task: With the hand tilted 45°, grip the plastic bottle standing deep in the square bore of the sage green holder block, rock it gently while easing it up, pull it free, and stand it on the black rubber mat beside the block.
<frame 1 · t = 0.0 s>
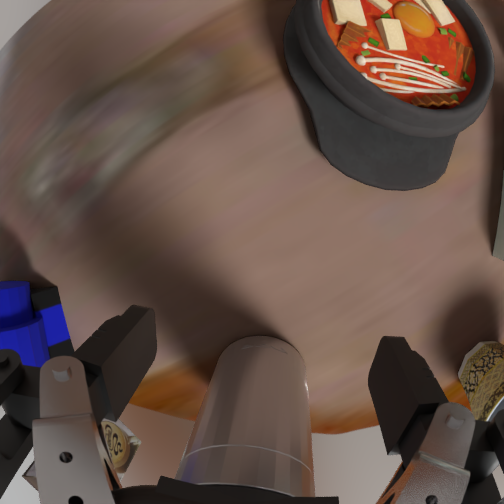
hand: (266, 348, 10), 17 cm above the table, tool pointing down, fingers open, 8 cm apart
ceramic cup: (480, 368, 28), on the table
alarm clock: (34, 311, 32), on the table
coffee box: (109, 423, 35), on the table
casserole: (381, 61, 22), on the table
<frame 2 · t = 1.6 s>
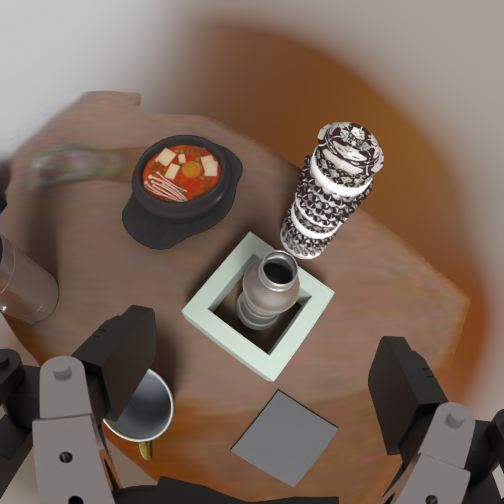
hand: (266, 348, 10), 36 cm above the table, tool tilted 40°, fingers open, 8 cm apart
ceramic cup: (153, 407, 40), on the table
holder block: (256, 311, 47), on the table
rubber mat: (286, 441, 39), on the table
black and white cylinder: (303, 237, 53), on the table
casserole: (184, 195, 55), on the table
plastic bottle: (256, 312, 47), resting in holder block
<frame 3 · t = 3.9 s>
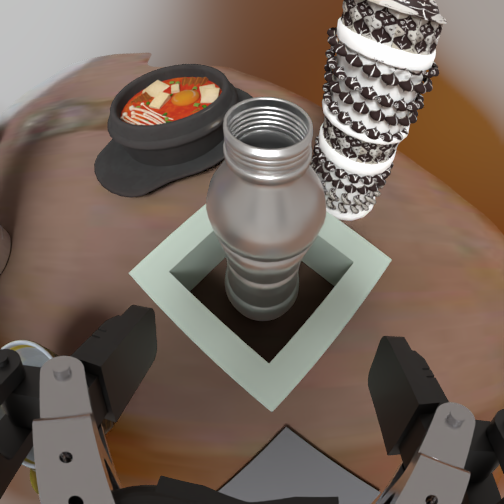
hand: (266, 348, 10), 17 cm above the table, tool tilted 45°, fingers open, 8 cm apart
ceramic cup: (88, 423, 23), on the table
holder block: (261, 293, 29), on the table
black and white cylinder: (341, 192, 35), on the table
casserole: (179, 140, 40), on the table
plastic bottle: (261, 294, 29), resting in holder block
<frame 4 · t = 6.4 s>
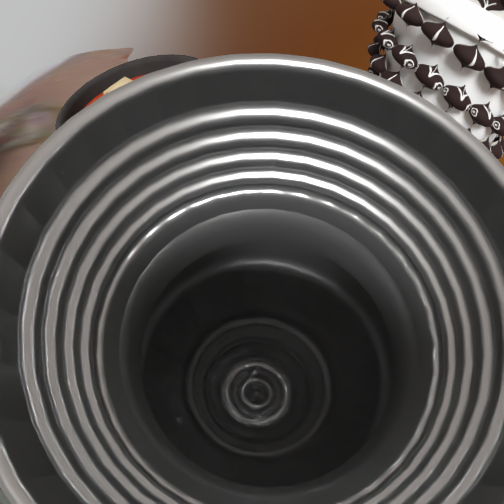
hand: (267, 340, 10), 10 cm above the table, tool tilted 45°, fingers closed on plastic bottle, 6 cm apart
black and white cylinder: (370, 236, 25), on the table
casserole: (151, 156, 30), on the table
plastic bottle: (256, 394, 19), resting in holder block, touching gripper
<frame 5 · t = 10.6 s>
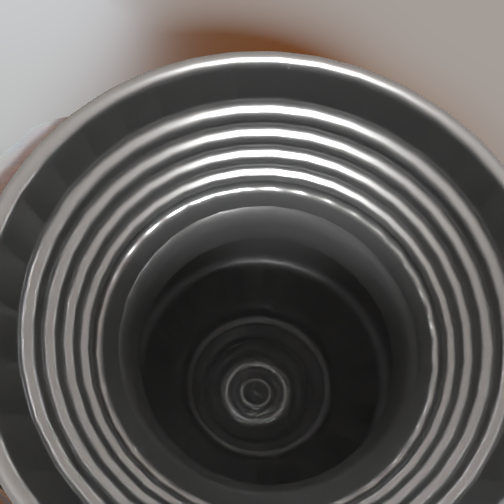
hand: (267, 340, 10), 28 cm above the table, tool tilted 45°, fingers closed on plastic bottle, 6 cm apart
plastic bottle: (256, 393, 19), point 18 cm above the table, touching gripper
when the fingers open (12 cm above the table, at t = 15.1 s): plastic bottle drops 1 cm, resting on rubber mat.
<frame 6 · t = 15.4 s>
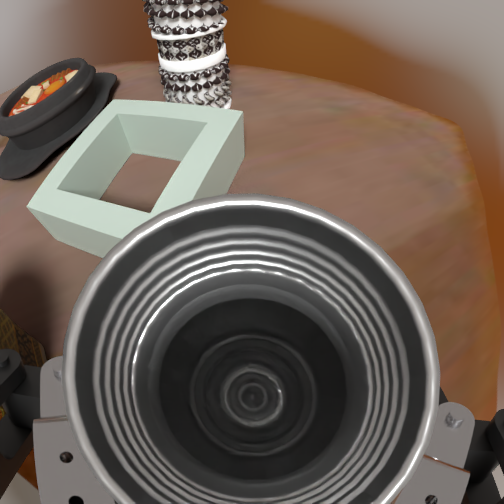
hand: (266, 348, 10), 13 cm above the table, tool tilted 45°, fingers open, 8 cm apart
ceramic cup: (30, 384, 20), on the table
holder block: (147, 195, 29), on the table
black and white cylinder: (199, 106, 36), on the table
casserole: (59, 126, 37), on the table
plastic bottle: (253, 397, 20), resting on rubber mat
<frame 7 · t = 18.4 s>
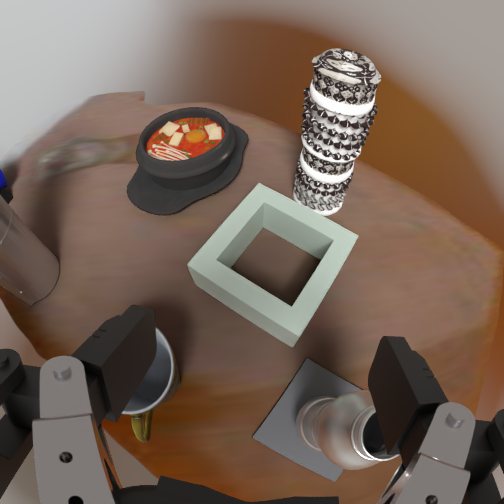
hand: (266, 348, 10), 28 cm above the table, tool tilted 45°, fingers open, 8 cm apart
ceramic cup: (157, 388, 34), on the table
holder block: (274, 271, 42), on the table
rubber mat: (321, 421, 32), on the table
black and white cylinder: (318, 196, 49), on the table
casserole: (190, 168, 53), on the table
plastic bottle: (318, 423, 32), resting on rubber mat
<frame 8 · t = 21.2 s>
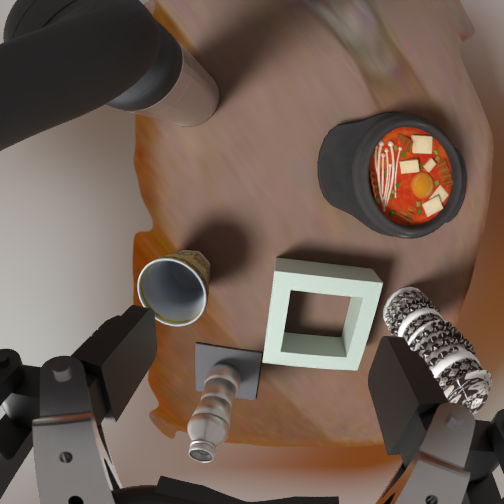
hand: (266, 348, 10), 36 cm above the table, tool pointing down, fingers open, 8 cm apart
ceramic cup: (185, 273, 49), on the table
holder block: (317, 307, 49), on the table
rubber mat: (226, 372, 54), on the table
black and white cylinder: (404, 308, 47), on the table
casserole: (395, 173, 41), on the table
plastic bottle: (225, 372, 54), resting on rubber mat
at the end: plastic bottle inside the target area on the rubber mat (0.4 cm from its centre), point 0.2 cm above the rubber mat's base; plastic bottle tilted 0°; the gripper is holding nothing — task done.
